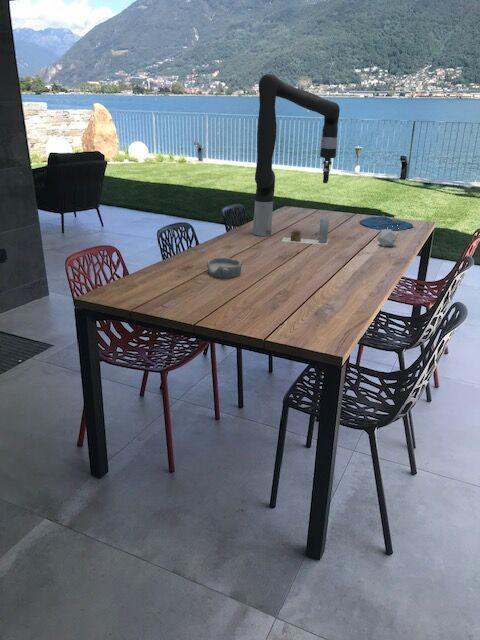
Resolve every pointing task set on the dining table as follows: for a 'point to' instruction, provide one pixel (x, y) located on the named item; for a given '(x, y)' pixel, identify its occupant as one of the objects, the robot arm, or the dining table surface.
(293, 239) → the walnut block
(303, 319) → the dining table surface
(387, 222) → the decorative plate
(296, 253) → the dining table surface
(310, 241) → the grey post on base
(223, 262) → the dish
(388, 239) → the die
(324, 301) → the dining table surface
